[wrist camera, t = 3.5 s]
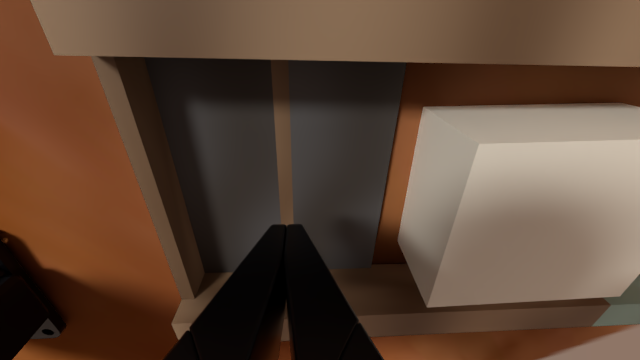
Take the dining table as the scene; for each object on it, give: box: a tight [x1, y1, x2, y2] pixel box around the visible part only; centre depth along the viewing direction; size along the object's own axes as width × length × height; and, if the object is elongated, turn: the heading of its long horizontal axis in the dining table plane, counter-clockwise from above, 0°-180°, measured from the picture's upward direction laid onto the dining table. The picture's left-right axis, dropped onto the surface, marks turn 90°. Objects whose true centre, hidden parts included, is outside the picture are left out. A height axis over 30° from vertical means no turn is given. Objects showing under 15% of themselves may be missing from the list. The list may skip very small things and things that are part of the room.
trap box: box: [30, 0, 640, 341], centre depth 9 cm, size 26×12×2 cm, turn 89°
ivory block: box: [398, 103, 640, 307], centre depth 9 cm, size 7×6×4 cm
